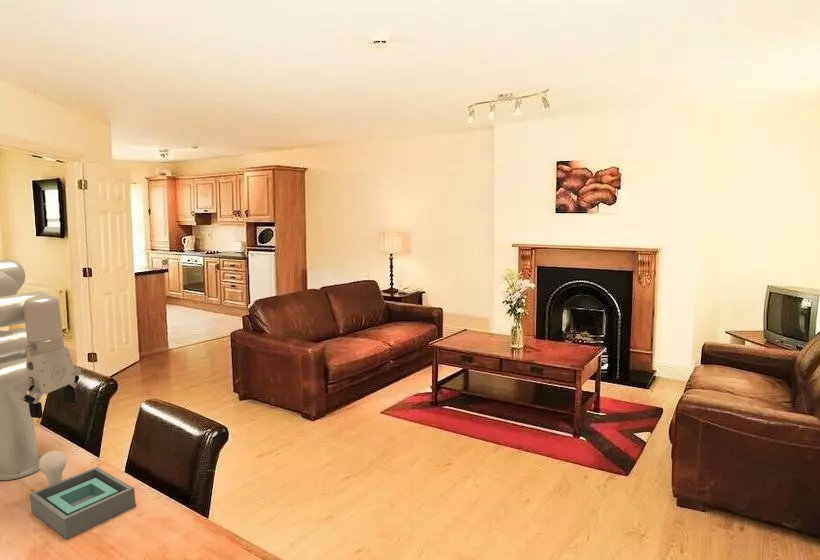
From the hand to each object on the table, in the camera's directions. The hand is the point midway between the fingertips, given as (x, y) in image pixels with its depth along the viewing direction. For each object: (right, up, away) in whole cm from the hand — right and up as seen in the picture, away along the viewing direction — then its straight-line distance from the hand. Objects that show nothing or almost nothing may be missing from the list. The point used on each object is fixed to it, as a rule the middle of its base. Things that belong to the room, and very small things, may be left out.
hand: (54, 409), depth 139 cm
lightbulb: (-3, -23, +5) cm, 24 cm away
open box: (+10, -24, -4) cm, 26 cm away
